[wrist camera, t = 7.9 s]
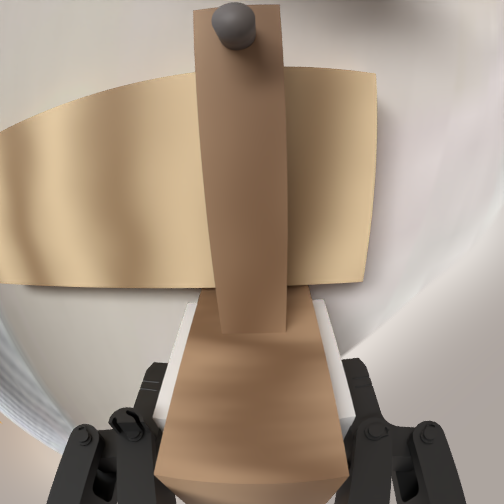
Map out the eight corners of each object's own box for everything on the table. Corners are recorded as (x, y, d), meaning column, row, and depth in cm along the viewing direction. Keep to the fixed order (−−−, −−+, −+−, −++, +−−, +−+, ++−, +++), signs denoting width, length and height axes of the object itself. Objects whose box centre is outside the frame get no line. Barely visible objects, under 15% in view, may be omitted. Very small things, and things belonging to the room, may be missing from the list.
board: (14, 268, 15) (-2, 283, 13) (-16, 146, 11) (-37, 152, 9) (351, 261, 14) (362, 281, 13) (358, 78, 10) (375, 73, 8)
